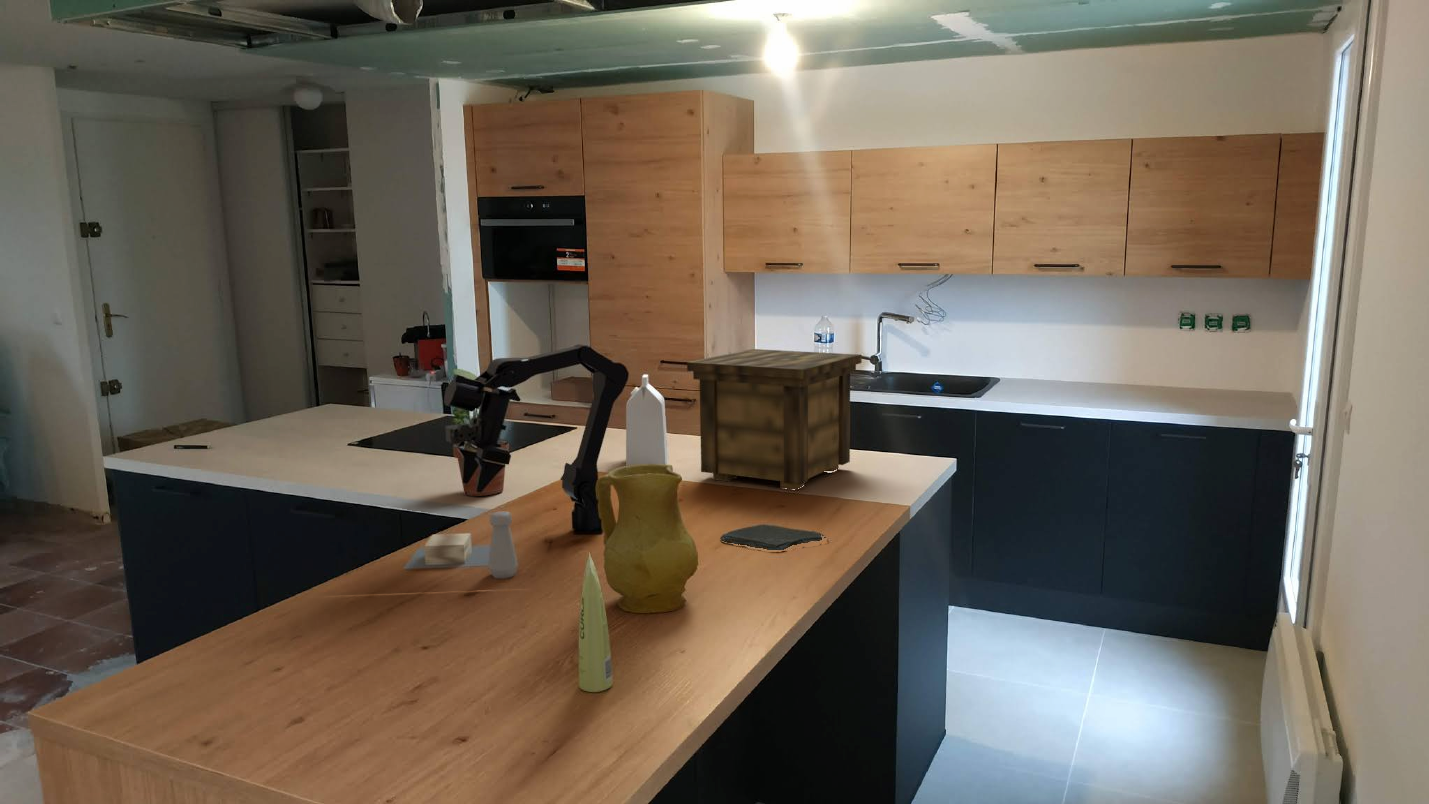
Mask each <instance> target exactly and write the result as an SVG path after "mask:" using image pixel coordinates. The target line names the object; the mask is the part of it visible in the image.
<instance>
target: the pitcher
mask: <svg viewBox="0 0 1429 804" xmlns="http://www.w3.org/2000/svg"><path fill="white" fill-rule="evenodd" d="M673 470H674V468H673V465H671V464H666V465H661V464H642V465H633V466H626V465H625V466H620V467H617V468H614V469H612V470H610V471H609V472H608V473H606V474H604V475H602V476H600V477H598V480H597V482H596V499H597V500H598V502H599V503H598V512H599V518H600V519H601V520H602V522H601V526H602V530H603V534H604V535H603V545H604V550H603V558H604V560H603V561H604V563H603V569H604V573H605V579H606V582H607V585H609V587H610V589H611V590H613V591H614V592H616V593H617V594H619V595H621V597H619V599H618V601H617V605H618V607H619V608H620V609H621V610H623V611H624V612H629V613H633V614H651V613H652V614H657V613H666V612H670V611H671V612H672V611H675V610H678V609H680V608H683V607H685V606H686V601H687V599H686V598H685V597H684V595H683V593H685V592H686V590H687V589H686V588H685V587H686V584H687V582H688V580H689V579H690V578H691V577H693V576H694V575H695V573H696V572H697V571H698V565H699V552H698V550H697V546H696V542H695V540H694V539H693V537H692V536H691V534H690V533H689V531H688V529H687V528H686V527H685V524H684V522H683V518H682V514H681V510H680V505H679V500H678V499H679V498H678V490H679V484H680V483H682V481H683V477H682V475H681V474H679V473H678V472H676V471H675V472H674V471H673ZM612 486H613V489H614V490H615V492H616V495H617V498H618V499H617V500H618V512H617V513H618V514H617V520H616V517H615V513H614V507H613V502H612Z"/></svg>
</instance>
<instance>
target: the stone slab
mask: <svg viewBox="0 0 1429 804" xmlns="http://www.w3.org/2000/svg"><path fill="white" fill-rule="evenodd" d="M821 535H822V536H825V535H824V534H822V533H820V532H819V531H818V532H817V531H814V530H812V531H810V530H809V531H808V530H804V529H795V528H789V527H784V526H778V525H774V524H756V525H753V526H747V527H741V528H739V529H734V530H732V531H731V530H730V531H729V532H726V533H723V534H722V535H721V536H720V541H721V540H722V541H724V542H727V543H734V544H738V545H739V544H740V545H747V546H750V547H755V548H763V549H767V550H784V549H786V548H788V547H790V546H792V545H797V544H801V543H808V542H810V541H820V540H822V537H821ZM826 537H827V536H826ZM826 537H824V538H826Z"/></svg>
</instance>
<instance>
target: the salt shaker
mask: <svg viewBox="0 0 1429 804" xmlns="http://www.w3.org/2000/svg"><path fill="white" fill-rule="evenodd" d="M512 521H513V517H512V514H511V513H510V512H509V511H505V510H499V511H495V512H492V513H491V514H490V515H489V524H490V526H492V531H491V539H490V545H491V546H490V553H489V561H488V566H487V567H488V570H489V572H490V574H491V576H492V577H493V578H495V579H501V580H503V579H507V578H512V577H514V575H515V574H516V571H517V569H518V567H519V565H518V564H519V563H518V559H517V553H516V549H515V545H514V540H513V536H512V532H511V528H510V525H511V524H512Z"/></svg>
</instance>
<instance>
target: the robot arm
mask: <svg viewBox="0 0 1429 804" xmlns="http://www.w3.org/2000/svg"><path fill="white" fill-rule="evenodd" d="M578 365H581V367H583V368H584V369H585V370H587V371H588V372H589V373H590V374H592V380H591V381H592V382H591V385H592V392H593V394H592V395H593V398H592V402H591V404H590V405H591V406H590V408H589V412H588V416H587V420H586V424H585V427H584V431H583V434H582V437H581V441H580V444H579V449H578V452H577V455H576V458H575V459H574V461H572V462H571V463H568V462H565V464H564V467H563V468H564V470H563V474H562V475H561V477H560V481H561V482H562V483H561V487H562V489H563V491H564V493H565V494H566V495H567V496H569V498H570V501H571V502H573V503H574V504H573V509H572V510H571V528H572V530H573V534H574V535H578V534H579V535H581V534H583V535H584V534H602V533H603V534H604V532H603V530H602V526H601V522H602V520H601V519H600V518H599V512H598V503H599V502H598V500H597V499H596V482H597V480H598V479H599V472H598V460H599V456H600V452H601V450H602V446H603V442H604V438H605V435H606V431H607V427H608V425H609V420H610V417H611V414H612V410H613V408H614V407H613V406H614V404H615V402H616V400H617V399H618V398H619V397H620V395H622V393H623V391H624V389H625V387H626V384H627V383H628V380H629V377H630V376H629V375H630V371H628V369H627V366H626V365H624V363H621V362H618V361H613V360H611V359H609V358H608V357H606V356H604V355H603V354H601V353H599V352H597V351H596V350H595V349H593V348H592V347H591V346H589V345H586V344H581V343H580V344H579V343H578V344H575V345H573V346H570V347H565V348H561V349H558V350H553V351H549V352H544V353H541V354H537V355H531V356H527V357H499V358H495V359H492V360H491V361H490V362H489V364H488V366H487V369H486V370H484V371H483V372H481V373H480V374H479V376H477V378H476V379H475V380H472V379H468V378H465V377H463V376H461V375H457V374H455V373H454V375H453V378H452V379H451V380H450V381H449V383H448V386H447V387H446V388H445V392H444V398H443V400H444V401H443V402H444V405H445V406H447V407H452V408H459V409H463V410H467V411H469V412H470V413H471V412H473V411H474V410H475V411H476V408H477V410H478V408H479V407H480V409H479V410H478V411H477V412H478V416H476V417H474V418H473V417H472V418H471V419H472V421H471V423H469V422H468V423H465V424H464V423H463V424H462V423H460V424H458V425H453V424H450V425H445V427H444V429H445V439H446V442H449V443H450V444H452V445H454V444H455V445H457V446H460V448H459V447H456V448H457V450H458V451H459V453H460V454H461V456H462V479H461V483H462V482H463V483H466V484H467V483H468V482H469V480H470V479H471V478H472V476H473V474H474V473H475V471H476V469H477V468H478V466H479V472H478V479H477V486H476V491H477V492H482V491H483V490H484V489H485V487H486V486H487V485H488V484H489V483H490V482H491V480H492V479H493V478H494V477H495V476H496V475H497V474H498V473H499V472H500V470H501V469H502V468H503V467H504V468H505V469H506V465H510V462H511V458H512V455H511V453H510V450H509V451H507V450H505V449H503V448H500V447H501V444H499V443H498V442H499V439H501V434H502V431H506V429H507V425H505V421H506V416H507V413H508V410H509V406H510V402H511V400H512V401H514V402H519V403H520V402H521V398H520V396H519V395H518V393H517V389H515V388H513V387H516V386H518V385H520V384H522V383H524V382H526V381H528V380H530V379H532V378H533V377H534V376H538V375H541V374H545V373H548V372H549V373H550V372H552V371H557V370H558V371H559V370H562V369H566V368H569V367H573V366H578ZM484 387H486V390H483V389H484ZM501 387H502V388H507V389H508V390H506V389H502V388H501ZM509 388H510V389H509ZM487 389H490V390H487ZM491 389H492V391H491ZM504 464H505V465H504Z"/></svg>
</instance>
